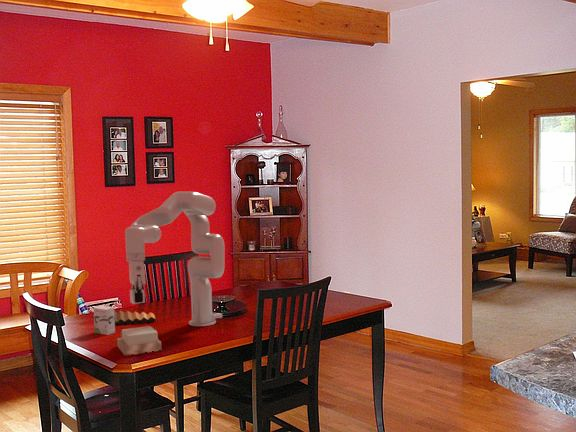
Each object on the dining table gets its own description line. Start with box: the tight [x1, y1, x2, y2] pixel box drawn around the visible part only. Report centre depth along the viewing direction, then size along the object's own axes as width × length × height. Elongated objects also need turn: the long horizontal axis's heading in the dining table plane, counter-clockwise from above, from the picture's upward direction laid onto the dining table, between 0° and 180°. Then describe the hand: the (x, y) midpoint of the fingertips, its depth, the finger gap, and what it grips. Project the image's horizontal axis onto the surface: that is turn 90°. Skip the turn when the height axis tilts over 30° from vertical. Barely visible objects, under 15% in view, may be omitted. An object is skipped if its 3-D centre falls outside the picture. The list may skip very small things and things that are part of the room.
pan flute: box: [114, 310, 156, 327], centre depth 340 cm, size 25×3×25 cm
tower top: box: [121, 325, 159, 346], centre depth 285 cm, size 12×12×4 cm
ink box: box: [93, 305, 116, 336], centre depth 313 cm, size 9×5×12 cm, turn 60°
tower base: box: [117, 337, 163, 356], centre depth 285 cm, size 15×15×4 cm
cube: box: [129, 288, 146, 305], centre depth 283 cm, size 5×5×5 cm
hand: (137, 300), depth 284 cm, fingers closed on cube, 5 cm apart
